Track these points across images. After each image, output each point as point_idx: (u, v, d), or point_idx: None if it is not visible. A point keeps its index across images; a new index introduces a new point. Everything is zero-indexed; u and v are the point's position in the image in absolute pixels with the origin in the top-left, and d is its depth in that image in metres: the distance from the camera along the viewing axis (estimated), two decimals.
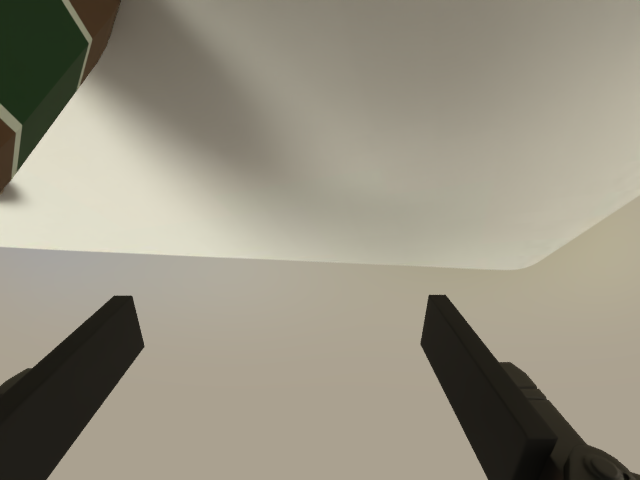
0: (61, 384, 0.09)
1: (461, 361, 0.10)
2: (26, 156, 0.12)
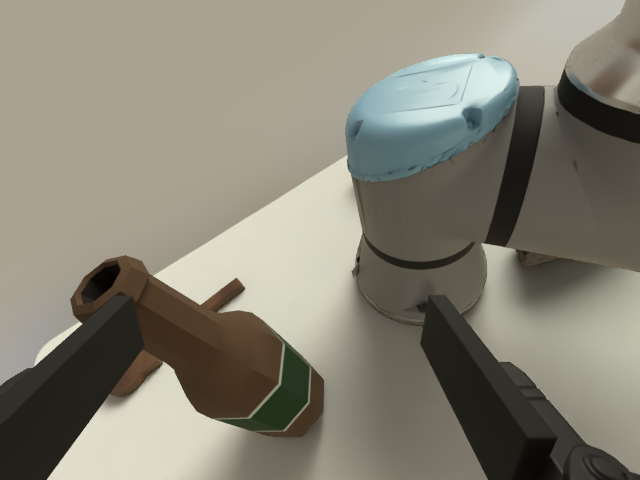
0: (61, 384, 0.09)
1: (461, 361, 0.10)
2: (223, 421, 0.23)
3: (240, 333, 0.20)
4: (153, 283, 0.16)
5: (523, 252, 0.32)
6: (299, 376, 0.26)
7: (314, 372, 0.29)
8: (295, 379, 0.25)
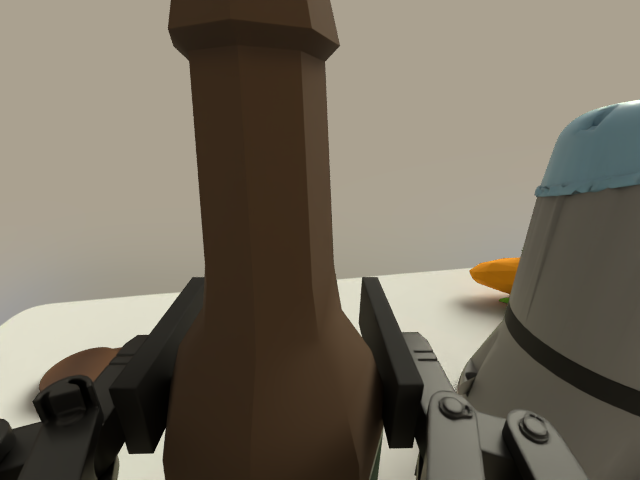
0: (174, 346, 0.11)
1: (374, 331, 0.12)
2: None
3: (351, 333, 0.09)
4: None
5: None
6: None
7: None
8: None
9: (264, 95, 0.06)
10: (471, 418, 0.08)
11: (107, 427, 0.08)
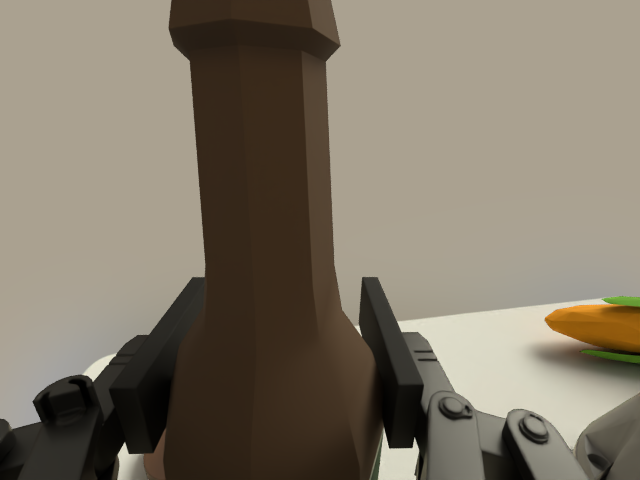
0: (174, 346, 0.11)
1: (374, 331, 0.12)
2: None
3: (352, 333, 0.09)
4: None
5: None
6: None
7: None
8: None
9: (264, 95, 0.06)
10: (471, 418, 0.08)
11: (107, 427, 0.08)
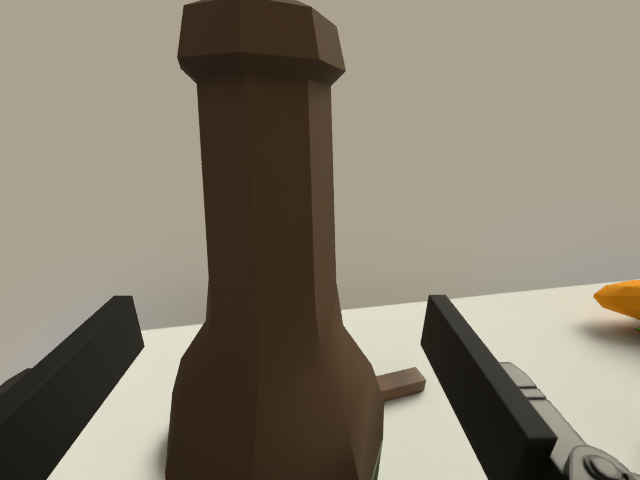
0: (61, 384, 0.09)
1: (461, 361, 0.10)
2: None
3: (353, 349, 0.09)
4: None
5: None
6: None
7: None
8: None
9: (270, 123, 0.06)
10: None
11: None
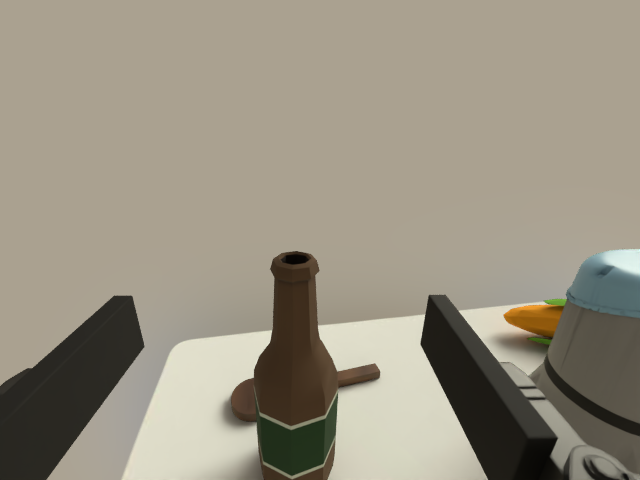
0: (61, 384, 0.09)
1: (461, 361, 0.10)
2: (262, 423, 0.25)
3: (324, 353, 0.26)
4: (314, 278, 0.24)
5: None
6: (330, 431, 0.28)
7: (334, 445, 0.30)
8: (329, 428, 0.27)
9: (298, 292, 0.22)
10: None
11: None
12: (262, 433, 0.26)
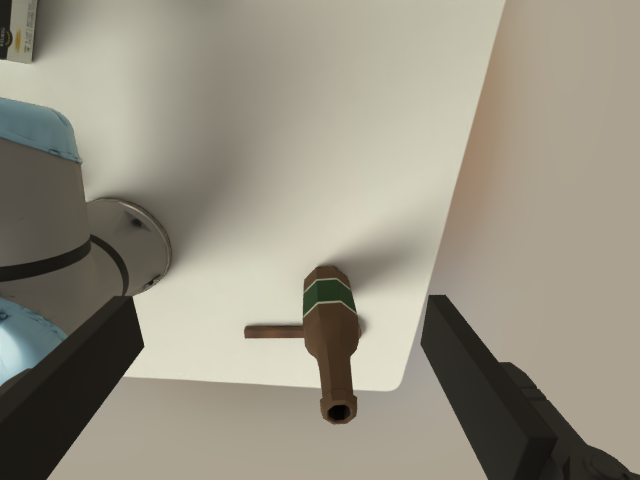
0: (61, 384, 0.09)
1: (461, 361, 0.10)
2: (354, 308, 0.41)
3: (313, 341, 0.36)
4: (322, 395, 0.29)
5: None
6: (309, 295, 0.43)
7: (304, 288, 0.46)
8: (312, 296, 0.42)
9: (339, 382, 0.29)
10: None
11: None
12: (353, 303, 0.42)
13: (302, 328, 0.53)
